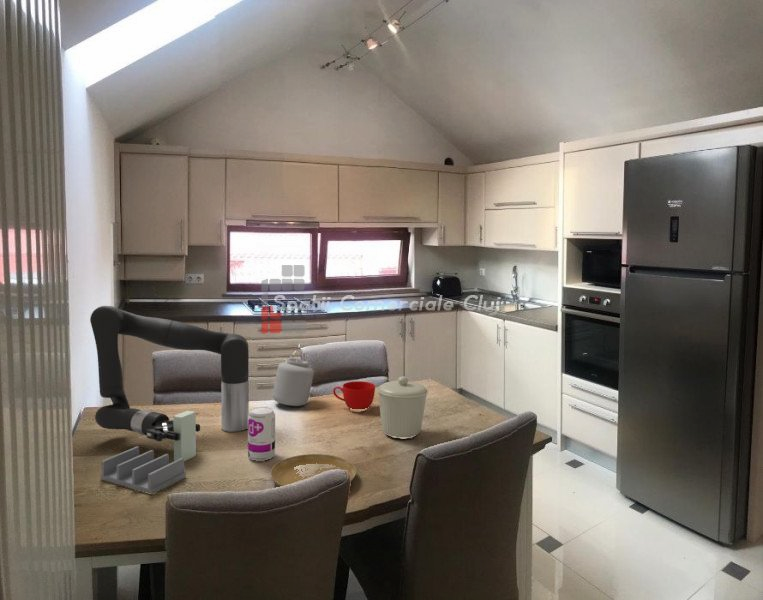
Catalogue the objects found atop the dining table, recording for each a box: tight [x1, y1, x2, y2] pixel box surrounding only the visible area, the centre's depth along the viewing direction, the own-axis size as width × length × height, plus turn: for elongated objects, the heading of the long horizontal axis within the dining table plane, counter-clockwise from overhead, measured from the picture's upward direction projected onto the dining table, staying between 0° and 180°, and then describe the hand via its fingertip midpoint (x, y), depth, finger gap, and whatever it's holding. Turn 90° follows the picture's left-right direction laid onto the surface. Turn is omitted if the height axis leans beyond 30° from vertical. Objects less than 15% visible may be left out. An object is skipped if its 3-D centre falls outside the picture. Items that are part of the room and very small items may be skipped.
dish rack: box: [100, 445, 186, 495], centre depth 150 cm, size 19×12×6 cm, turn 66°
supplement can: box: [247, 406, 276, 462], centre depth 167 cm, size 8×8×15 cm
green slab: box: [172, 410, 197, 462], centre depth 164 cm, size 3×6×14 cm, turn 156°
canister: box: [376, 375, 429, 437], centre depth 189 cm, size 18×18×21 cm
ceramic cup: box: [332, 380, 376, 409], centre depth 215 cm, size 13×17×10 cm
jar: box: [271, 343, 316, 407], centre depth 219 cm, size 19×15×25 cm
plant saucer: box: [270, 453, 357, 488], centre depth 153 cm, size 24×24×3 cm
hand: (189, 432), depth 163 cm, fingers open, 8 cm apart
